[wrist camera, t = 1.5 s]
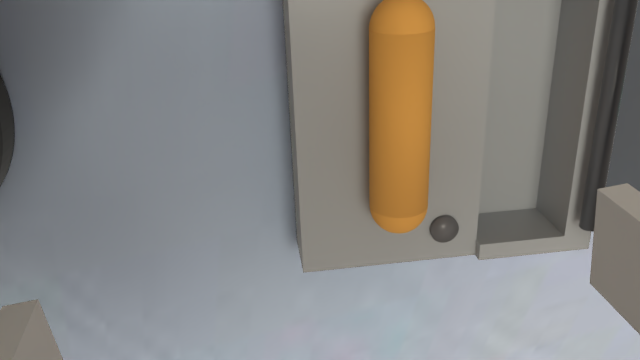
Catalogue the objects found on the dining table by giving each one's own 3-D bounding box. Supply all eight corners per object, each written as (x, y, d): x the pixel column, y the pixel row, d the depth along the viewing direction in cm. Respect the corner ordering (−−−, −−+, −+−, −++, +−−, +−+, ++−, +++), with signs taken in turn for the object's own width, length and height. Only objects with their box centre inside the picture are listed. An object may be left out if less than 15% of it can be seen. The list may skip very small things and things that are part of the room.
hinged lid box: (297, 240, 37) (304, 278, 34) (278, -77, 30) (285, -75, 26) (553, 215, 39) (588, 248, 35) (595, -91, 32) (645, -91, 28)
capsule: (364, 219, 33) (376, 247, 31) (362, -9, 28) (376, 0, 26) (417, 214, 34) (434, 241, 31) (425, -12, 29) (445, -4, 26)
